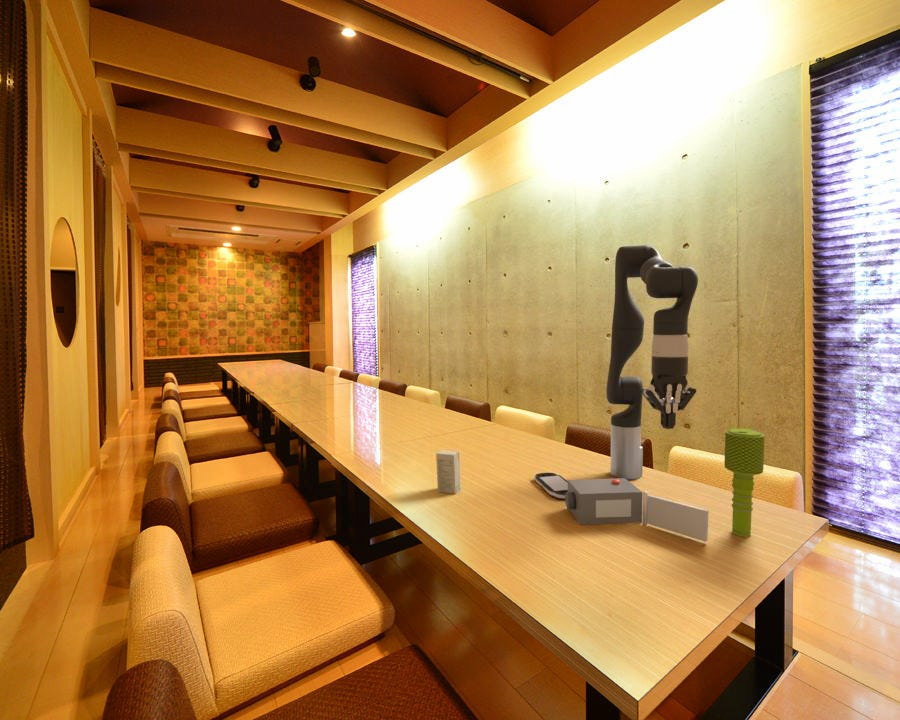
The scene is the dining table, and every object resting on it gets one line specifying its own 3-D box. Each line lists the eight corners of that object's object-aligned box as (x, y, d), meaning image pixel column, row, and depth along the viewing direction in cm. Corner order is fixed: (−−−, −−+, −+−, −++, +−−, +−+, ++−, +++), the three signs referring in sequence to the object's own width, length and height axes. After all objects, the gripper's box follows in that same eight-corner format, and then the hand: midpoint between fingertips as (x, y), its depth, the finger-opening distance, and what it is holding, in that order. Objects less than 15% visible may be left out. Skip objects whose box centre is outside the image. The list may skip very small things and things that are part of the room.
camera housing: (561, 508, 117) (561, 477, 117) (624, 506, 118) (625, 475, 117) (573, 525, 107) (574, 491, 107) (642, 523, 108) (643, 489, 107)
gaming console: (530, 480, 141) (530, 472, 141) (556, 477, 143) (556, 470, 142) (555, 503, 122) (555, 494, 122) (584, 500, 124) (584, 491, 123)
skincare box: (461, 489, 132) (460, 451, 131) (455, 494, 128) (454, 455, 127) (442, 486, 135) (441, 449, 134) (436, 491, 131) (435, 452, 130)
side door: (706, 543, 97) (707, 508, 96) (641, 523, 107) (642, 492, 106) (708, 541, 98) (709, 506, 97) (644, 521, 108) (645, 490, 108)
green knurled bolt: (762, 544, 96) (766, 435, 95) (722, 536, 100) (725, 432, 99) (759, 529, 103) (762, 428, 101) (722, 522, 107) (725, 425, 105)
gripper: (653, 356, 94) (651, 433, 95) (707, 354, 95) (705, 430, 97) (633, 354, 101) (632, 425, 102) (684, 352, 103) (682, 423, 104)
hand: (668, 428), depth 99 cm, fingers closed
